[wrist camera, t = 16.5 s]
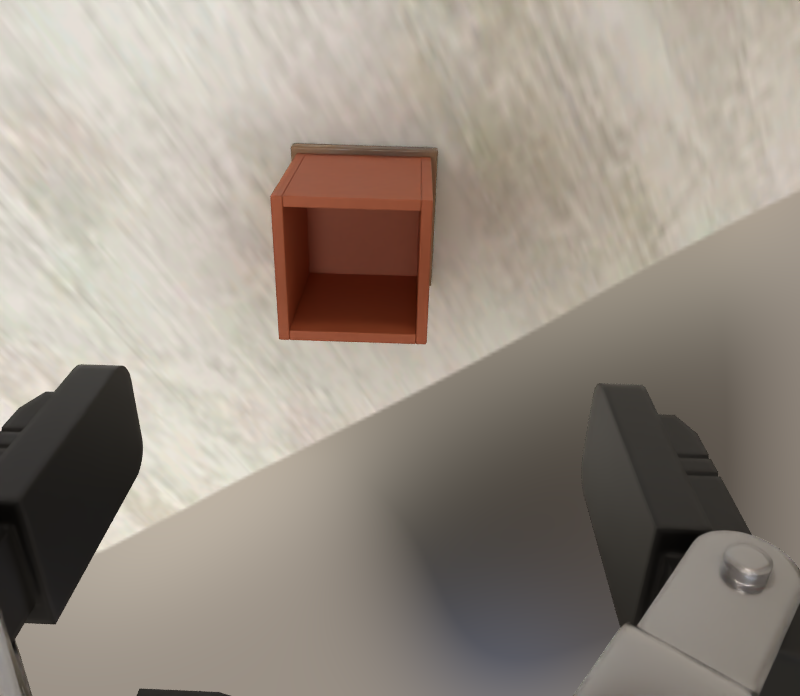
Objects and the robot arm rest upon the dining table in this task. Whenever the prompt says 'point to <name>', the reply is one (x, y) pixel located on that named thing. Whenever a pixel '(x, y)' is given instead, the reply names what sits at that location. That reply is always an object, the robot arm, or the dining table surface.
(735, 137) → the dining table surface
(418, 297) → the top tub
